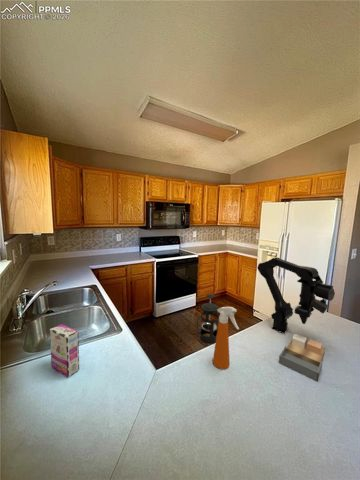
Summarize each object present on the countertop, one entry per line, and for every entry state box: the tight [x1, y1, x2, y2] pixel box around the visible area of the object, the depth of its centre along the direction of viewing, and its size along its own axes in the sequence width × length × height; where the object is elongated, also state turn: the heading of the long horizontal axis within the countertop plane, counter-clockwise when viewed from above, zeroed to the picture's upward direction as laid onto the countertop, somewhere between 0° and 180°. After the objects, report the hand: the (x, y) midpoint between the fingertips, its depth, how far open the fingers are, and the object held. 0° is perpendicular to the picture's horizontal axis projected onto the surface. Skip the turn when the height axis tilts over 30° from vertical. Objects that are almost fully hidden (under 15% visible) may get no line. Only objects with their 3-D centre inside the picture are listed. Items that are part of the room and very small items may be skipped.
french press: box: [196, 293, 220, 345], centre depth 100 cm, size 12×9×23 cm
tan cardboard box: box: [307, 338, 323, 355], centre depth 91 cm, size 5×5×3 cm
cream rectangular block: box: [291, 333, 308, 349], centre depth 95 cm, size 5×5×3 cm
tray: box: [278, 345, 323, 382], centre depth 84 cm, size 14×9×4 cm, turn 48°
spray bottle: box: [212, 306, 240, 370], centre depth 81 cm, size 7×11×26 cm, turn 39°
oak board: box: [286, 339, 326, 367], centre depth 92 cm, size 13×13×2 cm
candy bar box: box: [49, 323, 80, 379], centre depth 78 cm, size 11×5×16 cm, turn 62°
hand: (304, 322), depth 100 cm, fingers open, 2 cm apart
